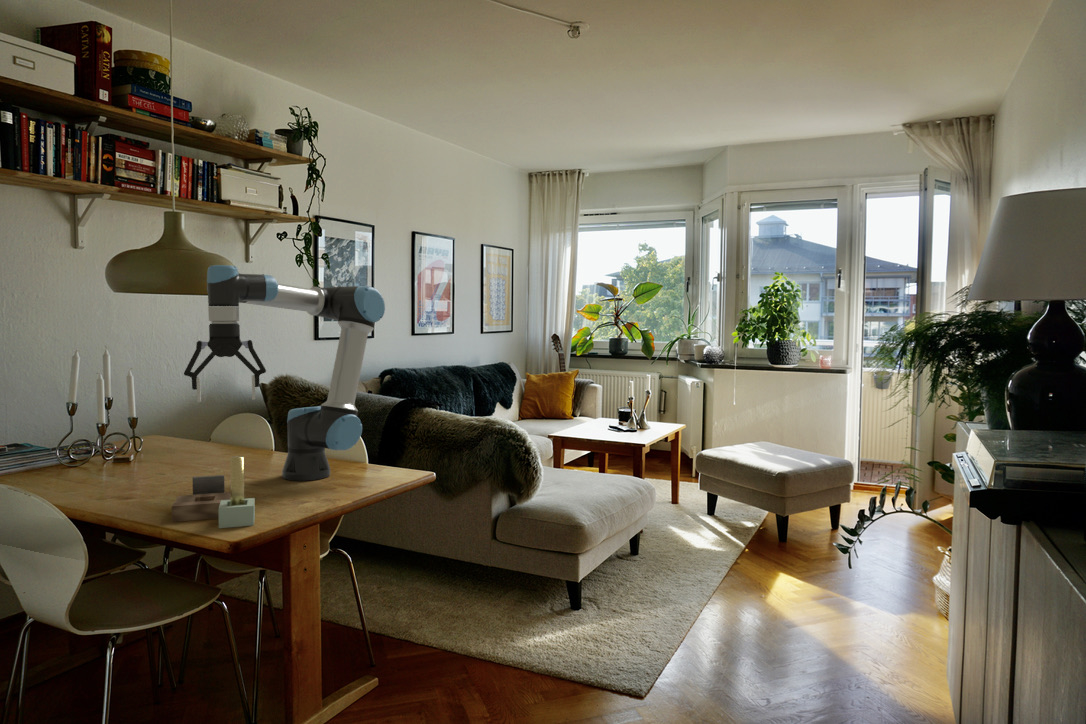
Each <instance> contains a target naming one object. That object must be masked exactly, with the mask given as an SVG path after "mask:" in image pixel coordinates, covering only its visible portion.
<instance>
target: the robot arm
mask: <svg viewBox="0 0 1086 724" xmlns="http://www.w3.org/2000/svg"><path fill="white" fill-rule="evenodd" d="M206 277H207V278H206V283H207V284H206V291H207V300H208V301H207V302H208V304H207V305H208V308H207V309H208V311H207V312H208V321H209V322H211V323H209V325H208V330H209V331H208V333H209V339H208V341H202V340H198V341H196V348H195V351H194V352H193V354H192V356H191V358H190V360H189V362H188V364H187V366H186V368H185V370H184V372H183V375H184V376H185V377H189V378H191V389H192V390H193V391H195V390H196V401H197V402H196V403H201V402H202V389H201V377H200V376H198V375H199V374H200V373H201V372H202V371H203V370H204V369H205V367H207V365H208V364H209V363H210V362H211V361H212V360H213V359H214V357H218V358H224V357H226V358H233V357H234V356H235V357H236V358H238V360H239V361H240V362H242V363H243V365H245V366H246V367H247V369H248V370H250V371H251V373H253V374H252V375H251V394H252V396H251V397H252V398H251V399H252V401H253V400H256V388H259V387H260V376H261V375H263V374H265V373H267V370H266V367H265V366H264V364H263V363H262V360H261V359H260V358H259V356H258V355H259V354H257V352H256V350H255V348H254V346H253V341H252V340H251V339H248V340H241V332H240V330H241V329H240V328H241V327H240V324H239V323H238V322H239V321H240V305H239V304H248V305H256V306H263V307H269V308H276V309H277V308H278V309H285V310H293V311H300V312H301V311H302V312H307V315H308V314H309V315H310V316H315V317H320V318H324V319H329V320H334V321H337V324H338V326H339V327H340V329H341V330H340V336H339V339H338V345H337V349H336V354H335V358H334V359H335V361H334V364H333V370H332V374H331V380H330V384H329V390H328V394H327V399H326V401H325V402H323V403H322V404H320V405H318V406H309V407H308V406H307V407H297V408H292V409H289V411H288V413H287V419H286V423H287V455H286V458H285V462H284V465H283V467H282V472H281V473H282V474H281V475H282V479H284V480H286V481H296V482H299V481H301V482H302V481H315V480H321V479H325V478H328V477H330V476H331V467H330V463H329V461H328V457H327V454H326V450H325V449H328V450H332V451H348V450H349V449H352V447H353V446H356V445H357V443H358V442H359V440H360V438H361V436H362V433H363V424H362V421H361V419H360V418H359V417H358V412H359V410H358V409H357V407H356V398H357V392H358V389H359V388H358V387H359V383H360V377H361V373H362V372H361V371H362V367H363V366H362V365H363V360H364V358H365V357H364V356H365V350H366V345H367V340H368V335H369V333H371V332H373V331H374V330H375V326H376V325H375V324H376V323H377V322H379V321H380V320H381V319H383V318H384V317H383V316H384V315H385V310H386V305H385V304H386V303H385V299H384V298H383V296H382V294H381V293H380V291H379V290H378V289H376V288H375V287H372V286H365V285H360V286H358V285H357V286H353V285H352V286H331V287H329V286H328V287H322V286H321V287H320V286H312V287H310V288H307V287H300V286H297V285H289V284H283V283H282V284H281V283H278V281H277V279H276V277H274V276H273V275H269V274H258V273H257V274H255V273H252V274H250V273H239V269H238V267H237V266H236V265H225V264H222V265H221V264H213V265H210V266H208V268H207V274H206ZM242 346H244V347H245V349H248V351H249V353H250V354H251V356H252V358H253V360H254V361H255V363H256V365H257V367H258V368H259V369H257V368H255V366H254V365H253V364H252V363H251V362H250V361H249V360H248V359H247V358H246V356H244V355H243V354H242V353H241V352H240V351H239V350H240V348H241V347H242ZM206 347H208V348H209V349H210V351H211V352H210V353H209V355H208V356H207V357H206V358H205V359H204V360H203V361H202V362H201V363H200V364H199V366H198V367H197V368H196V370H195V371H192V370H193V367H194V365H195V363H196V362H197V360H198V358H199V356H200V353H201V351H202V350H205V348H206Z"/></svg>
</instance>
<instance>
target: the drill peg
mask: <svg viewBox="0 0 1086 724" xmlns="http://www.w3.org/2000/svg"><path fill="white" fill-rule="evenodd" d="M229 469H230V476H229V477H230V491H229V492H230V506H236V505H244V499H245V456H244V455H243V456H242V455H235V456H233V455H232V456H230V468H229Z"/></svg>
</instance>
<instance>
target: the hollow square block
mask: <svg viewBox="0 0 1086 724" xmlns="http://www.w3.org/2000/svg"><path fill="white" fill-rule="evenodd" d="M255 500H256V499H255V497H249V498H244V505H236V506H230V500H221V502H220V505H219V518H218V529H223V528H224V529H225V528H227V529H228V528H240V527H250V526H254V525H255V520H256V519H255V517H256V515H255V514H256V508H255V507H256V506H255V504H256V502H255Z"/></svg>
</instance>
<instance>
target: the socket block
mask: <svg viewBox="0 0 1086 724" xmlns="http://www.w3.org/2000/svg"><path fill="white" fill-rule="evenodd" d="M221 500H230V491H229V492H225V493H212V494H197V495H193V494H183V495H178V496H176V498H175V500H174V502H173V503H172V505H171V522H172V523H173V522H174V523H175V522H185V521H197V520H211V519H219V505H220V502H221Z"/></svg>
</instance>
